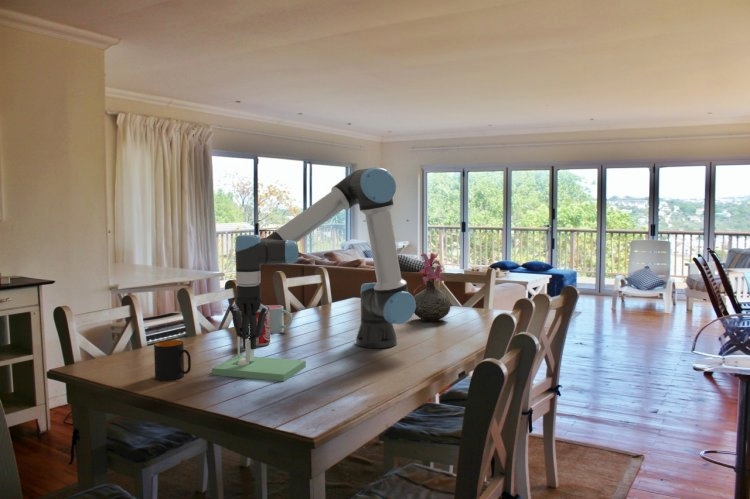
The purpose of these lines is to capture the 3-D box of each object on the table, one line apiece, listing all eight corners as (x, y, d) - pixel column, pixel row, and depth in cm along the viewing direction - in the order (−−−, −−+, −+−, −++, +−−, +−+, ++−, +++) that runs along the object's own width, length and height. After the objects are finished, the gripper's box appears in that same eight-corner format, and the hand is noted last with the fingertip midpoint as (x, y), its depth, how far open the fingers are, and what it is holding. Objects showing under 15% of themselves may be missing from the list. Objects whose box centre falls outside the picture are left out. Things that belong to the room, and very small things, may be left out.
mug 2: (256, 332, 236) (256, 308, 235) (269, 328, 245) (268, 304, 244) (285, 335, 231) (285, 310, 230) (297, 330, 240) (297, 306, 239)
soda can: (266, 347, 212) (265, 312, 211) (247, 346, 213) (247, 311, 212) (273, 342, 219) (272, 308, 218) (255, 341, 220) (254, 307, 219)
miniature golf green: (305, 366, 186) (305, 323, 185) (284, 381, 171) (283, 334, 169) (238, 361, 193) (238, 319, 192) (212, 374, 177) (211, 329, 176)
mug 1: (181, 384, 168) (180, 348, 167) (148, 379, 173) (147, 345, 172) (200, 376, 176) (199, 342, 175) (168, 372, 180) (167, 339, 179)
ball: (253, 360, 183) (243, 354, 184) (247, 364, 180) (237, 358, 181) (248, 369, 184) (239, 363, 185) (242, 373, 181) (233, 367, 182)
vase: (455, 319, 262) (456, 253, 260) (438, 326, 248) (439, 256, 245) (422, 315, 271) (423, 251, 269) (404, 322, 257) (404, 254, 254)
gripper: (273, 283, 182) (274, 357, 184) (235, 282, 186) (237, 354, 188) (261, 286, 175) (263, 363, 177) (223, 285, 179) (225, 360, 181)
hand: (249, 359), depth 182 cm, fingers closed
